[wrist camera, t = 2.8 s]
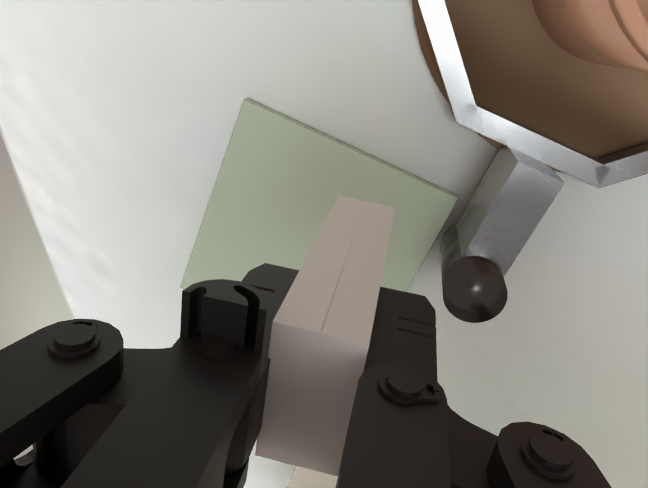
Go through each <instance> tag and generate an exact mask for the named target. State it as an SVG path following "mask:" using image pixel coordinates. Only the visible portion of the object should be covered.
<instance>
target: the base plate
mask: <svg viewBox="0 0 648 488" xmlns="http://www.w3.org/2000/svg"><path fill="white" fill-rule="evenodd" d="M412 1H413V9H414V18H415V25H416V29H417V33H418V37H419V40H420V44H421V48H422V51H423V54H424V56H425V59H426V61H427V64H428V66H429V69H430V71H431V74H432V76H433V77H434V79H435V81H436V83H437V85H438V86H439V88H440V90H441V92H442V93H443V95H444V97H445V98H446V99H447V101H448V102H449V103H450V100H449V97H448V94H447V91H446V87H445V84H444V81H443V78H442V75H441V72H440V68H439V65H438V62H437V59H436V56H435V53H434V49H433V46H432V43H431V40H430V37H429V34H428V31H427V27H426V24H425V21H424V18H423V15H422V12H421V8H420V5H419V2H418V0H412ZM444 2H445V5H446V8H447V12H448V15H449V18H450V22H451V25H452V28H453V32H454V35H455V38H456V41H457V45H458V48H459V51H460V55H461V58H462V61H463V65H464V68H465V71H466V74H467V78H468V81H469V84H470V88H471V91H472V94H473V98H474V101H475V103H476V104H478V105H480V106H482V107H484V108H486V109H489V110H491V111H493V112H495V113H497V114H499V115H502V116H504V117H506V118H508V119H510V120H512V121H515V122H517V123H519V124H521V125H523V126H525V127H528V128H530V129H532V130H534V131H536V132H538V133H541V134H543V135H545V136H547V137H549V138H551V139H554V140H556V141H558V142H560V143H562V144H565V145H567V146H569V147H571V148H573V149H575V150H578V151H580V152H582V153H584V154H586V155H588V156H591V157H593V158H595V159H597V158H600V157H603V156H606V155H609V154H613V153H616V152H619V151H622V150H625V149H628V148H631V147H635V146H638V145H641V144H644V143H647V142H648V72H643V71H637V70H632V69H626V68H620V67H614V66H608V65H602V64H597V63H592V62H588V61H585V60H582V59H580V58H577V57H575V56H573V55H571V54H569V53H568V52H566V51H565V50H563V49H562V48H561V47H559V46H558V45H557V44H556V43H555V42H554V41H553V40H552V39H551V38H550V37H549V36H548V34H547V33H546V32H545V30H544V29H543V27H542V26H541V24H540V22H539V20H538V18H537V16H536V13H535V10H534V7H533V3H532V0H444ZM450 104H451V103H450ZM475 132H476V131H475ZM476 133H478V132H476ZM478 134H479V135H480V136H482V137H483V138H484V139H486V140H487V141H488V142H490V143H491V144H492V145H494V146H495V147H497V148H499V149H500V147H501V146H502V143H500V142H497V141H495V140H493V139H491V138H489V137H487V136H484V135H482V134H480V133H478ZM548 166H549V165H548ZM549 167H550V168H551V169H552V170H554V171H558V172H562V171H560V170H558V169H556V168H554V167H552V166H549ZM562 173H565V172H562Z"/></svg>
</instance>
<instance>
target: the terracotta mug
mask: <svg viewBox="0 0 648 488" xmlns="http://www.w3.org/2000/svg"><path fill="white" fill-rule="evenodd" d="M532 3H533V7H534V10H535V13H536V16H537V18H538V20H539V22H540V24H541V26H542V27H543V29H544V30H545V32H546V33H547V34H548V36H549V37H550V38H551V39H552V40H553V41H554V42H555V43H556V44H557V45H558V46H559V47H561V48H562V49H563V50H565V51H566V52H568V53H569V54H571V55H573V56H575V57H577V58H580V59H582V60H585V61H588V62H592V63H597V64H602V65H608V66H614V67H620V68H626V69H632V70H637V71H643V72H648V0H532Z"/></svg>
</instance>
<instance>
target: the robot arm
mask: <svg viewBox="0 0 648 488" xmlns="http://www.w3.org/2000/svg"><path fill="white" fill-rule="evenodd" d="M394 208H395V207H393V206H388V205H383V204H378V203H373V202H368V201H363V200H358V199H353V198H348V197H344V196H339V197H338V199H337V200H336V202H335V204H334V206H333V208H332V210H331V212H330V214H329V216H328V218H327V219H326V221H325V223H324V225H323V227H322V229H321V231H320V233H319V235H318V236H317V238H316V240H315V242H314V244H313V246H312V248H311V250H310V252H309V254H308V255H307V257H306V259H305V261H304V263H303V265H302V267H301V269H300V270H295V269H291V268H286V267H282V266H277V265H273V264H268V263H264V264H262V265H260V266H258V267H256V268H254V269H252V270H250V271H248V273H247V274H246V276H245V277H244V278H243V280H242V281H241V282H240V281H234V280H226V279H215V280H205V281H202V282H198V283H195V284H192V285H190V286H189V287H187V288H186V289H185V290H183V291H182V310H181V331H180V338H179V339H178V340H177V341H176V343H175V344H174V345H173V347H171V348H165V349H128V348H123V338H122V336H121V333H120V331H119V330H118V329H116V328H115V327H113V326H112V325H111V324H109V323H105V322H102V321H98V320H93V319H73V320H67V321H61V322H57V323H55V324H52V325H50V326H47V327H44V328H42V329H40V330H38V331H36V332H34V333H33V334H30V335H28V336H26V337H25V338H23V339H21V340H19V341H17V342H15V343H13V344H11V345H9V346H7V347H6V348H4V349H2V350H0V488H243V487H244V484H245V482H246V477H247V470H248V462H249V456H250V454H251V451H252V449H253V446H254V444H255V442H256V439H257V445H256V453H255V455H257V456H261V457H265V458H269V459H273V460H276V461H280V462H284V463H288V464H292V465H296V466H299V467H303V468H307V469H311V470H315V471H319V472H322V473H326V474H330V475H334V476H338V479H337V483H336V488H611V486H610V485H609V483H608V482H607V480H606V479H605V477H604V476H603V474H602V473H601V471H600V470H599V468H598V467H597V465H596V464H595V462H594V461H593V459H592V458H591V457H590V456H589V455H588V454H587V453H586V452H585V450H584V449H583V448H582V447H581V446H580V445H578V444H577V443H576V442H574V441H573V440H571V439H570V438H569V437H567V436H566V435H565V434H563V433H560V432H558V431H556V430H554V429H552V428H549V427H547V426H545V425H540V424H535V423H531V422H518V423H511V424H509V425H508V426H506V427H504V428H502V429H501V431H500V434H499V436H496V435H494V434H492V433H490V432H488V431H486V430H483V429H481V428H479V427H477V426H475V425H473V424H472V423H470V422H468V421H466V420H465V419H463V418H462V417H460V416H459V415H458V414H456V413H455V412H454V411H453V410H452V409H451V408H450V407H449V406H448V405H447V399H446V396H445V393H444V390H443V388H442V387H441V386H440V385H439V383H438V382H437V355H436V327H435V325H436V317H435V309H434V308H433V307H432V305H431V304H430V302H429V301H428V300H427V298H426V297H425V296H421V295H417V294H412V293H408V292H403V291H399V290H394V289H390V288H385V287H380V284H381V279H382V273H383V268H384V262H385V257H386V252H387V246H388V241H389V235H390V230H391V225H392V219H393V214H394ZM257 437H258V438H257ZM32 444H33V449H32V450H31V451H30V452H28V453H27V454H26V455H24V456H22V457H20V458H18V459H16V460H14V459H13V458H14V457H16V456H17V455H19V454H20V453H21V452H22V451H24V450H25V449H27V448H28V447H29V446H31V445H32Z"/></svg>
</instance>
